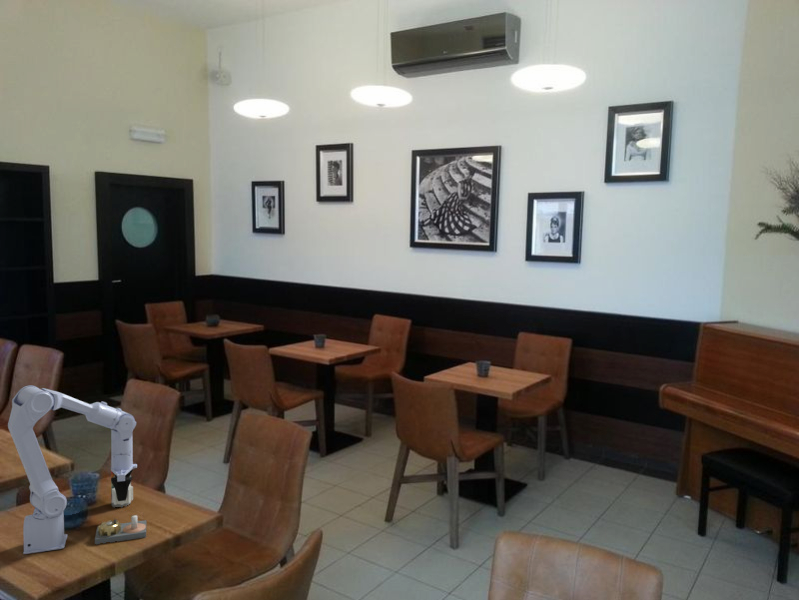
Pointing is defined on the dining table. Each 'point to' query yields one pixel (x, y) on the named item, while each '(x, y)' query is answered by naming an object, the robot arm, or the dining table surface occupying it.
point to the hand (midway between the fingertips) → (122, 496)
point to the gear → (109, 528)
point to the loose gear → (128, 499)
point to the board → (125, 532)
